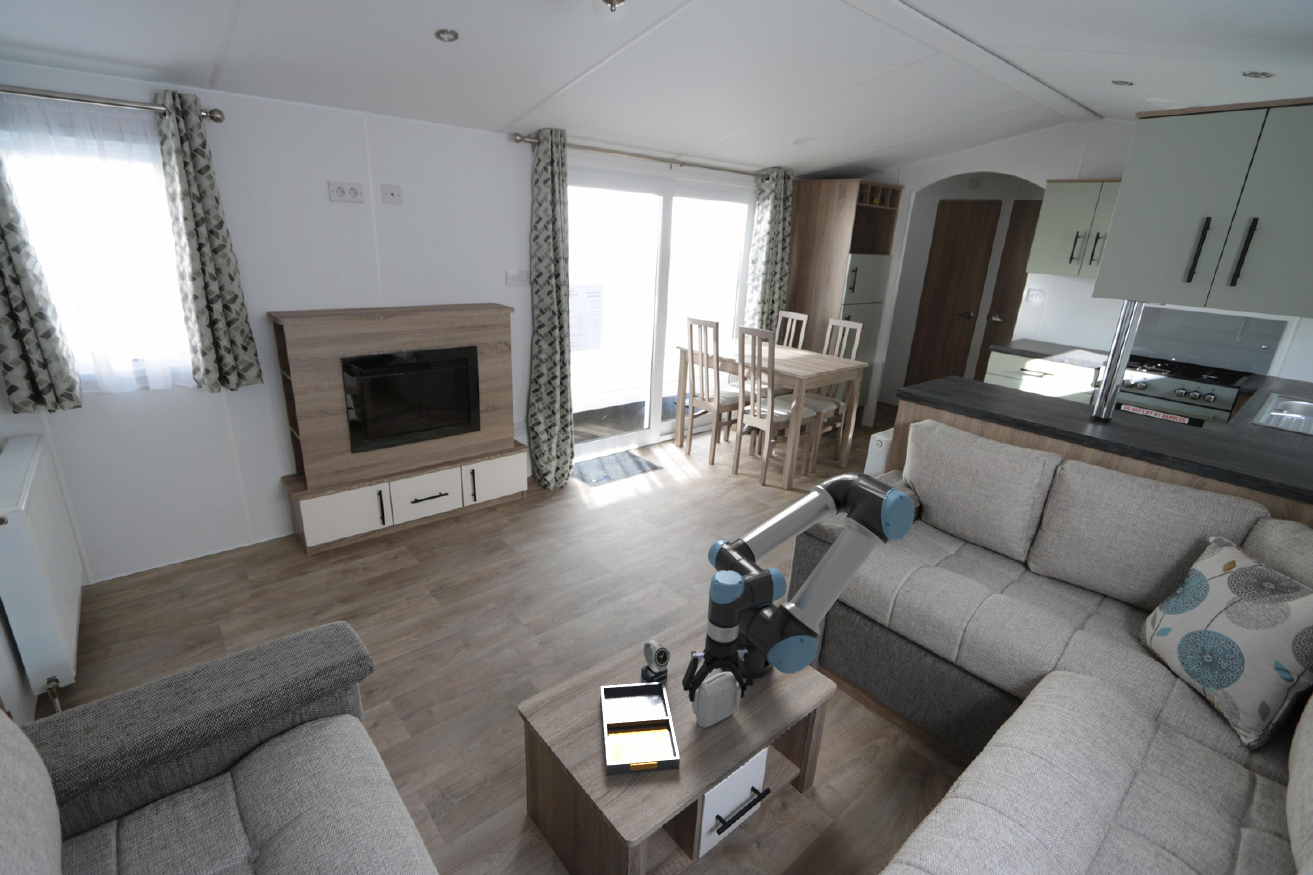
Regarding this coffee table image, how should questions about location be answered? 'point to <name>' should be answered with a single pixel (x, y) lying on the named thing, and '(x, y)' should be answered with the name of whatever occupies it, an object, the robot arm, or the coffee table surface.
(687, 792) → the coffee table surface
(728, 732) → the coffee table surface
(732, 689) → the photo printer
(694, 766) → the coffee table surface
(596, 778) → the coffee table surface
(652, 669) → the watch
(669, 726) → the tray
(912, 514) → the robot arm
